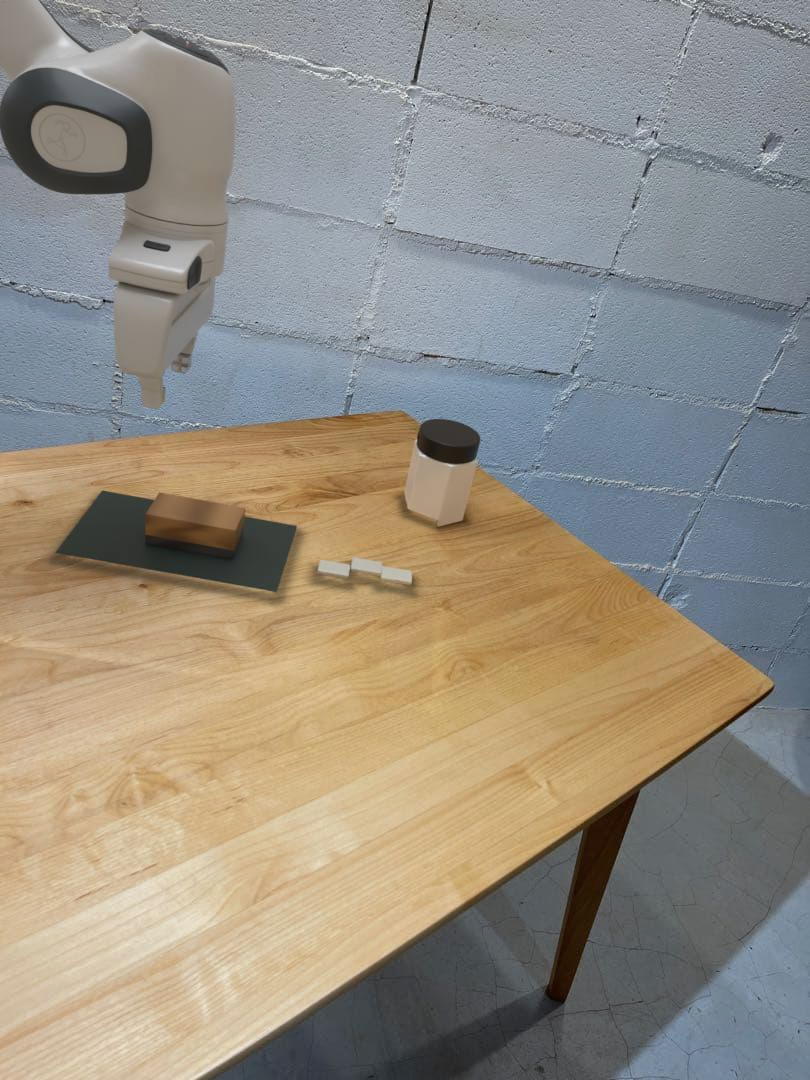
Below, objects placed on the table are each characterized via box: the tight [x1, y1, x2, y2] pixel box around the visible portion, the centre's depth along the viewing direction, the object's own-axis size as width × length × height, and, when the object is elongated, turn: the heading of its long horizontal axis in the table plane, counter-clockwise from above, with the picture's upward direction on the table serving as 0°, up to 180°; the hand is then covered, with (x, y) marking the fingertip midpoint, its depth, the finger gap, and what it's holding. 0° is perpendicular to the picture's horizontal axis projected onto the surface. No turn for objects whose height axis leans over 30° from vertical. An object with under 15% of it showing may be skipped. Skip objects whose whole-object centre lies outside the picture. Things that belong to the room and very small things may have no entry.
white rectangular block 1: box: [316, 559, 351, 580], centre depth 94 cm, size 4×2×2 cm, turn 88°
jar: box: [403, 418, 481, 528], centre depth 109 cm, size 9×8×12 cm
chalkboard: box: [54, 490, 298, 593], centre depth 94 cm, size 24×14×1 cm, turn 87°
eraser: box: [145, 491, 246, 559], centre depth 93 cm, size 10×5×4 cm, turn 87°
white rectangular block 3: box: [380, 565, 413, 586], centre depth 95 cm, size 4×2×2 cm, turn 89°
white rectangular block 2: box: [350, 556, 383, 577], centre depth 96 cm, size 4×2×2 cm, turn 89°
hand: (167, 386), depth 81 cm, fingers open, 8 cm apart
